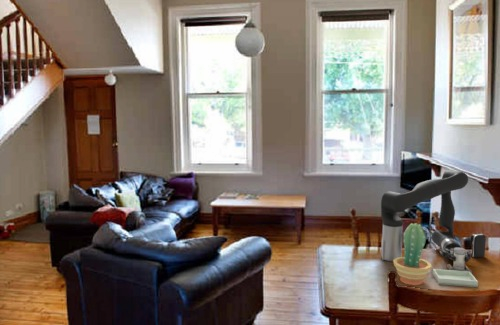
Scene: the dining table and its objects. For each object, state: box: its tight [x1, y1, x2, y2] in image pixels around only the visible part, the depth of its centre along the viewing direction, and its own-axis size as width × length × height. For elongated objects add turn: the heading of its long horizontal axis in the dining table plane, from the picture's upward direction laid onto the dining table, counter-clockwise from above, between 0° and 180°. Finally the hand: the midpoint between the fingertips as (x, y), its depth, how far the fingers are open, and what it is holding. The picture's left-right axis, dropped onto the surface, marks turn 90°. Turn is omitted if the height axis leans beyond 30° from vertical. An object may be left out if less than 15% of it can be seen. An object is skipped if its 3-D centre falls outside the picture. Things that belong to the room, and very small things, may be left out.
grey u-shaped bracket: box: [447, 263, 473, 273], centre depth 185 cm, size 8×9×2 cm
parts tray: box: [432, 268, 479, 288], centre depth 174 cm, size 15×11×2 cm
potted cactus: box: [392, 222, 432, 286], centre depth 173 cm, size 15×15×25 cm
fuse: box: [452, 247, 466, 270], centre depth 185 cm, size 5×5×10 cm
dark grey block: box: [469, 233, 487, 259], centre depth 204 cm, size 7×4×11 cm, turn 107°
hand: (460, 259), depth 183 cm, fingers closed on fuse, 4 cm apart
